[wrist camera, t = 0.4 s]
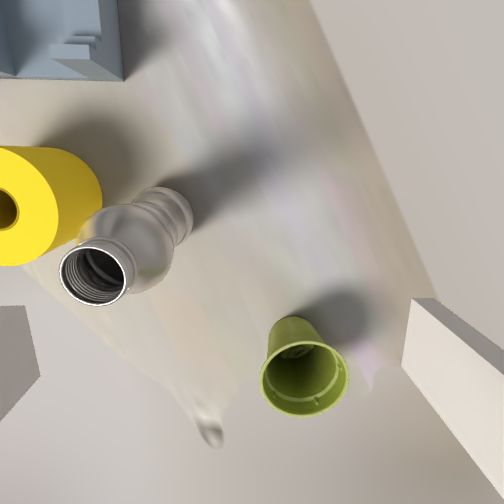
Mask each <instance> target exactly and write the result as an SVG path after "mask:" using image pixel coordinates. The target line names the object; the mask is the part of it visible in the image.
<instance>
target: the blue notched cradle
mask: <svg viewBox="0 0 504 504" xmlns="http://www.w3.org/2000/svg"><path fill="white" fill-rule="evenodd" d="M0 78H2V79H44V80H86V81H124V75H123V64H122V53H121V41H120V30H119V19H118V7H117V0H0Z"/></svg>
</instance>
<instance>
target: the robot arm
mask: <svg viewBox="0 0 504 504" xmlns="http://www.w3.org/2000/svg"><path fill="white" fill-rule="evenodd" d="M401 366H402V367H403V369H404V370H405V371H406V373H407V374H408V375H409V377H410V378H411V379H412V380H413V382H414V383H415V384H416V386H417V387H418V388H419V390H420V391H421V392H422V393H423V395H424V396H425V397H426V399H427V400H428V401H429V402H430V404H431V405H432V407H433V408H434V409H435V410H436V412H437V413H438V414H439V416H440V417H441V418H442V420H443V421H444V422H445V423H446V425H447V426H448V427H449V429H450V430H451V431H452V432H453V434H454V435H455V436H456V438H457V439H458V440H459V442H460V443H461V444H462V446H463V447H464V448H465V449H466V451H467V452H468V453H469V455H470V456H471V457H472V459H473V460H474V461H475V463H476V464H477V465H478V466H479V468H480V469H481V470H482V472H483V473H484V474H485V476H486V477H487V478H488V479H489V481H490V482H491V483H492V485H493V486H494V487H495V488H496V490H497V491H498V492H499V494H500V495H501V496H502V498H503V499H504V350H503V349H501V348H500V347H499V346H497V345H496V344H495V343H493V342H492V341H491V340H489V339H488V338H487V337H485V336H484V335H482V334H481V333H480V332H478V331H477V330H476V329H475V328H473V327H472V326H470V325H469V324H468V323H466V322H465V321H464V320H462V319H461V318H460V317H458V316H457V315H456V314H454V313H453V312H452V311H450V310H449V309H448V308H446V307H445V306H444V305H442V304H441V303H440V302H438V301H437V300H436V299H434V298H412V300H411V307H410V313H409V320H408V326H407V333H406V339H405V346H404V352H403V359H402V365H401ZM39 377H40V372H39V367H38V363H37V358H36V354H35V349H34V345H33V340H32V336H31V331H30V327H29V322H28V318H27V313H26V309H25V306H0V421H1V420H2V419H3V418H4V417H5V416H6V414H7V413H8V412H9V411H10V410H11V409H12V408H13V407H14V405H15V404H16V403H17V402H18V401H19V400H20V398H21V397H22V396H23V395H24V394H25V393H26V392H27V391H28V389H29V388H30V387H31V386H32V385H33V384H34V383H35V381H36V380H37V379H38V378H39Z"/></svg>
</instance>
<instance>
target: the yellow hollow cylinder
mask: <svg viewBox="0 0 504 504" xmlns="http://www.w3.org/2000/svg"><path fill="white" fill-rule="evenodd" d="M100 209H102V191H101V187H100V184H99V182H98V180H97V178H96V176H95V174H94V173H93V171H92V170H91V169H90V167H89V166H88V165H87V164H86V163H85V162H84V161H82V160H81V159H80V158H78V157H77V156H75V155H74V154H72V153H70V152H67V151H65V150H62V149H58V148H48V147H21V146H0V265H1V266H15V265H21V264H25V263H28V262H30V261H32V260H34V259H36V258H38V257H40V256H42V255H44V254H46V253H48V252H50V251H52V250H54V249H55V248H57V247H59V246H61V245H63V244H65V243H67V242H69V241H71V240H73V239H75V238H77V236H78V234H79V231H80V229H81V227H82V225H83V224H84V222H85V221H86V219H87V218H88V217H89V216H91V215H92V214H93V213H94V212H96V211H98V210H100Z"/></svg>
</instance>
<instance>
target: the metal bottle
mask: <svg viewBox="0 0 504 504" xmlns="http://www.w3.org/2000/svg"><path fill="white" fill-rule="evenodd" d="M192 227H193V213H192V210H191V207H190V205H189V203H188V201H187V200H186V199H185V198H184V197H183V196H182V195H181V194H180V193H178V192H176V191H174V190H172V189H169V188H166V187H151V188H148V189H145V190H143V191H142V192H140V193H139V194H138V195H137V196H136V197H135V198H134V199H133V201H132V202H131V204H121V205H113V206H109V207H105V208H102V209H100V210H98V211H96V212H94V213H93V214H92V215H91V216H89V217H88V218H87V219H86V221H85V222H84V224H83V225H82V227H81V229H80V231H79V234H78V236H77V240H76V247H75V248H73V249H71V250H70V251H69V252H68V253H67V254H66V255H65V256H64V257H63V259H62V260H61V263H60V266H59V277H60V280H61V283H62V285H63V287H64V289H65V290H66V291H67V292H68V294H69V295H71V296H72V297H73V298H74V299H76V300H77V301H79V302H81V303H84V304H86V305H90V306H105V305H109V304H111V303H113V302H115V301H117V300H118V299H119V298H121V297H122V296H123V295H124V294H136V293H139V292H143V291H145V290H148V289H150V288H152V287H154V286H156V285H157V284H158V283H159V282H161V281H162V280H163V278H164V277H165V276H166V274H167V272H168V270H169V268H170V266H171V263H172V259H173V253H174V247H176V246H177V245H179V244H181V243H182V242H183V241H184V240H186V238H187V237H188V236H189V235H190V233H191V230H192Z"/></svg>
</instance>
